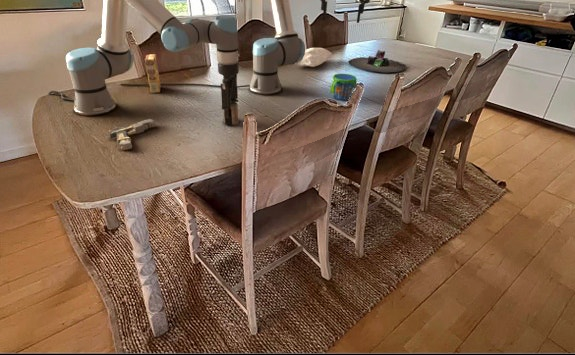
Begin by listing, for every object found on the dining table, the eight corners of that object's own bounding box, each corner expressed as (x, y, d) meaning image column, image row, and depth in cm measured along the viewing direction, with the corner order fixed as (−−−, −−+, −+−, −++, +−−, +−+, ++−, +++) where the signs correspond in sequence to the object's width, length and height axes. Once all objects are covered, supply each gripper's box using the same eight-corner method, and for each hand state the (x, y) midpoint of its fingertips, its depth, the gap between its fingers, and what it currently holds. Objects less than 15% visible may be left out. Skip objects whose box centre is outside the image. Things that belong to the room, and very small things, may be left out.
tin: (232, 126, 141) (231, 108, 137) (220, 122, 144) (219, 104, 140) (241, 121, 146) (240, 103, 141) (230, 118, 148) (229, 100, 144)
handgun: (169, 128, 131) (147, 116, 139) (122, 144, 120) (101, 130, 128) (170, 135, 133) (148, 122, 141) (123, 152, 121) (102, 137, 129)
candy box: (159, 92, 169) (154, 59, 161) (150, 93, 168) (144, 59, 160) (161, 86, 176) (156, 54, 168) (151, 86, 175) (146, 54, 167)
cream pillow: (271, 61, 216) (273, 46, 210) (312, 52, 236) (315, 38, 230) (297, 77, 204) (300, 61, 198) (339, 66, 224) (342, 52, 218)
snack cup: (347, 91, 179) (350, 71, 174) (362, 98, 172) (365, 77, 167) (322, 97, 172) (324, 75, 166) (336, 104, 165) (339, 82, 159)
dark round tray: (418, 67, 219) (420, 52, 215) (377, 75, 202) (379, 59, 197) (375, 58, 244) (377, 43, 239) (336, 64, 226) (337, 49, 222)
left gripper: (230, 70, 124) (233, 132, 136) (244, 56, 140) (246, 112, 152) (209, 68, 124) (214, 130, 137) (225, 55, 140) (228, 111, 153)
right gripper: (312, -43, 133) (308, 19, 145) (381, -40, 128) (371, 25, 139) (316, -43, 139) (312, 16, 151) (382, -40, 134) (373, 22, 145)
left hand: (231, 121), depth 144 cm, fingers open, 6 cm apart
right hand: (340, 21), depth 145 cm, fingers open, 13 cm apart
